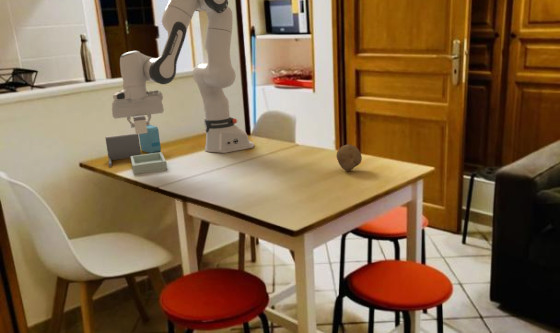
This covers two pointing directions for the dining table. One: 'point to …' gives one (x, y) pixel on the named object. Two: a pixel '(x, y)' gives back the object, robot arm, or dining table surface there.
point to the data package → (150, 140)
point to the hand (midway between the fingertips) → (140, 126)
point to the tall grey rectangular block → (140, 124)
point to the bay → (122, 146)
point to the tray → (148, 163)
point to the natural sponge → (349, 157)
